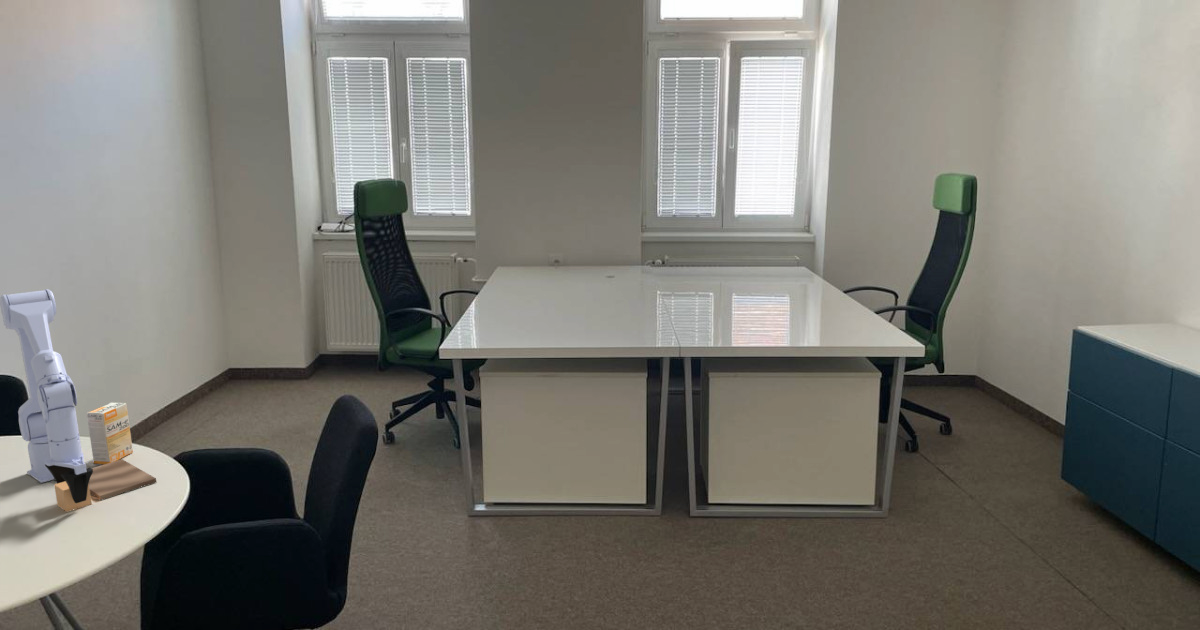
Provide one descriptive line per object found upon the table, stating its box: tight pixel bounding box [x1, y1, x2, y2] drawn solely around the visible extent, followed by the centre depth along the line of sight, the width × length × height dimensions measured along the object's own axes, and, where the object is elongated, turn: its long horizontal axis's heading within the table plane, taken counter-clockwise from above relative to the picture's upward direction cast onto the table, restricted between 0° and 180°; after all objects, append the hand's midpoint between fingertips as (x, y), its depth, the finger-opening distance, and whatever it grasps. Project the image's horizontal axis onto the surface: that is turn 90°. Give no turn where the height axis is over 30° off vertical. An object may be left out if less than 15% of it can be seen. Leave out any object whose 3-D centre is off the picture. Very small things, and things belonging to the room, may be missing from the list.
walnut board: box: [89, 458, 157, 501], centre depth 206 cm, size 18×12×1 cm, turn 50°
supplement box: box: [86, 402, 134, 465], centre depth 217 cm, size 8×5×13 cm, turn 168°
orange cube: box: [54, 481, 93, 512], centre depth 193 cm, size 5×5×5 cm
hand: (73, 496), depth 193 cm, fingers open, 7 cm apart
